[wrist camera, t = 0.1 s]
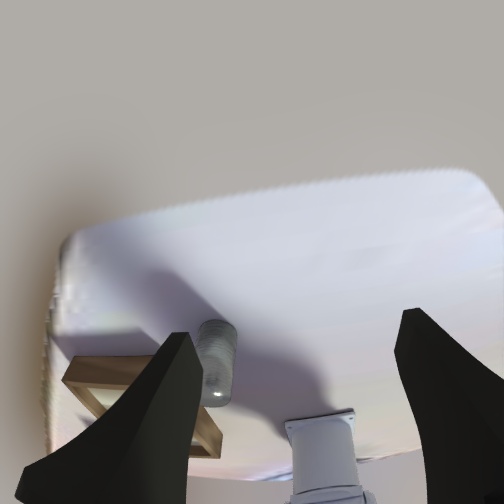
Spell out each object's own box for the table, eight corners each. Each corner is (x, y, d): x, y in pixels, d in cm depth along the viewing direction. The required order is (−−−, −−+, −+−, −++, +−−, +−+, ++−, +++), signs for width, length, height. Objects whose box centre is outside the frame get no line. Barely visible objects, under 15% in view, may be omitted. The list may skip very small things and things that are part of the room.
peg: (241, 344, 24) (235, 406, 19) (206, 347, 24) (194, 407, 19) (231, 317, 22) (222, 381, 17) (194, 322, 23) (178, 383, 18)
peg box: (222, 434, 33) (220, 458, 30) (140, 431, 34) (134, 452, 31) (170, 354, 25) (161, 385, 22) (74, 356, 27) (61, 380, 24)
